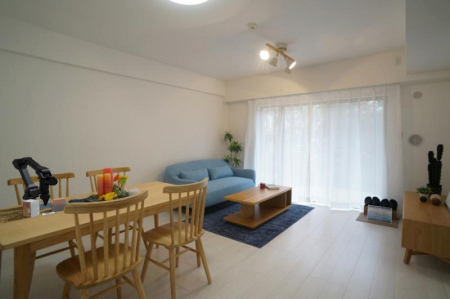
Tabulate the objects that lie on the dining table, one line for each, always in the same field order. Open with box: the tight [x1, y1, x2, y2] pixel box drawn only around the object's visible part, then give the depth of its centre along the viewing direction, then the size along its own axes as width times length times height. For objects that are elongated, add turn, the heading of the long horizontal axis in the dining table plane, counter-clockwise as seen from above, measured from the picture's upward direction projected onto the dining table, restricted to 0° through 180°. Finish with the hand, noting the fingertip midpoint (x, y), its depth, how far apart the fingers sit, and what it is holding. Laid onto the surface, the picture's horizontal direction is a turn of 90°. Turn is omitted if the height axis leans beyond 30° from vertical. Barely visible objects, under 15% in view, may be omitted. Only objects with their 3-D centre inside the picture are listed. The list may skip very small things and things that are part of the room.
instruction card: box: [41, 211, 55, 216], centre depth 161 cm, size 5×7×1 cm
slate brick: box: [39, 201, 52, 210], centre depth 173 cm, size 5×7×4 cm
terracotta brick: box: [52, 197, 67, 206], centre depth 169 cm, size 5×7×4 cm
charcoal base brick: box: [50, 201, 69, 212], centre depth 170 cm, size 8×10×4 cm
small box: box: [22, 199, 40, 218], centre depth 157 cm, size 8×6×10 cm
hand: (45, 205), depth 173 cm, fingers closed on slate brick, 5 cm apart
